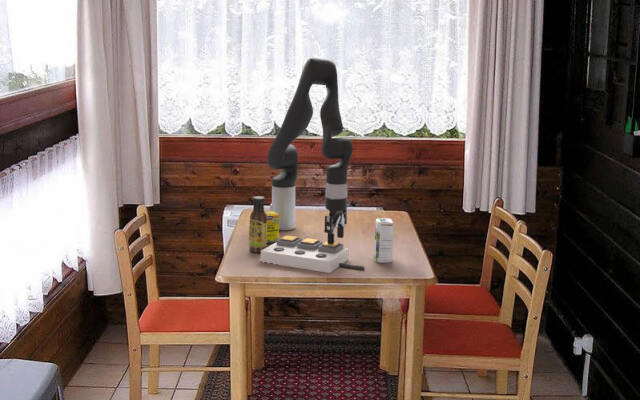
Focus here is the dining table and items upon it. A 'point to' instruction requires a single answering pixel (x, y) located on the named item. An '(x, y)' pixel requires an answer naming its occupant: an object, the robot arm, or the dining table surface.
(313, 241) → the switch
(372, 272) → the dining table surface
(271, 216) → the supplement box
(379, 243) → the syrup box
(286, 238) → the switch
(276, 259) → the switch panel
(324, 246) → the switch
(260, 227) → the sauce bottle
